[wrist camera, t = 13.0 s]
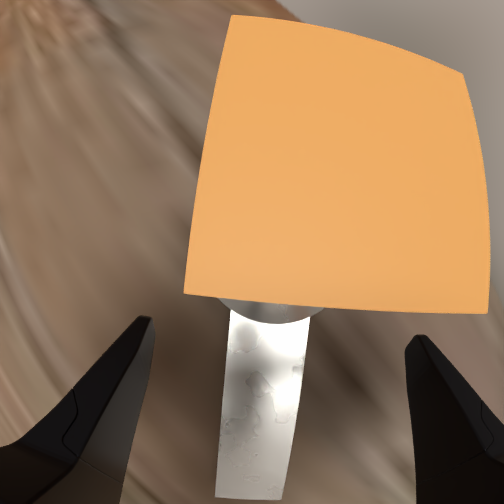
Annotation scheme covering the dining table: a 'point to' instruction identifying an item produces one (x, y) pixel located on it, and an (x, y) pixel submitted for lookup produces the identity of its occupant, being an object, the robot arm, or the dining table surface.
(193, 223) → the orange rectangular block
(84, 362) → the dining table surface
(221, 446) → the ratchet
